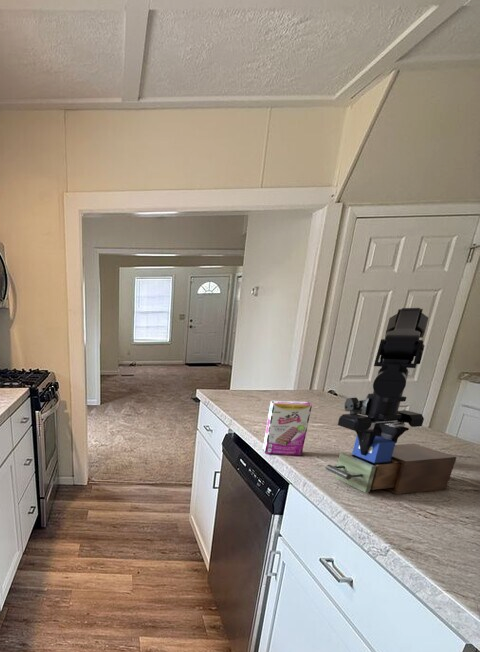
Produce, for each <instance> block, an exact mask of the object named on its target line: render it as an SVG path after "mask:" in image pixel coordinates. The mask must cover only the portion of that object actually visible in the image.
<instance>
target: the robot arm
mask: <svg viewBox="0 0 480 652" xmlns="http://www.w3.org/2000/svg"><path fill="white" fill-rule="evenodd" d="M423 310H424V308H420V307H402V308H399V309H398V310H397V313H396V314H394V315H392V316H391V317H389V319H388V322H387V326H386V329H385V336H384V338H381V339H380V341H379V345H378V348H377V349H378V350H377V353H376V356H375V360H374V362H373V363H374V364H373V367H380V368H379V369H378V370H377V375H376V377H375V379H374V380H373V383H372V389H373V391H372V393H368V394H367V395H366V398H365V399H361V400H359V399H358V397H349V398H345V399H346V400H345V401H344V402H345V403H344V411H345V412H349V413H344V414H341V415H340V416H339V418H338V421H337V426H338V427H341V428H345V429H347V430H350V431H354V432H355V433H356V437H357V436H358V440H359V445H360V451H361V454H362V455H366V454H367V452H368V450H369V449H370V447H371V445H372V443H373V441H374V439H375V437H376V436H379V437H382V438H385V439H388V440H391V441H394V442H396V443H395V444H397V443H398V440H399V438H400V437H401V436H402V435H403V434H404V433H405V432H407V431H409V430H410V428H409V427H406V426H405V423H407V424H408V425H409V426H410V427H412V428H419V427H423V423H424V421H425V418H424V416H423V414H422V413H419V412H414V411H410V410H407V409H403V410H399V409H400V405H401V403H402V402H403V403H404V402H407V401H406V400H407V396H404V395H403V394H404V391H405V388H406V385H407V380H408V376H409V374H410V373H409V372H410V371H409V369H416V367H417V365H421V361H422V357H423V354H424V350H425V344H424V340H423V338H424V335H425V333H426V329H427V325H428V322H429V317H428V316H427V315H425V314H424V313H423Z"/></svg>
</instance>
